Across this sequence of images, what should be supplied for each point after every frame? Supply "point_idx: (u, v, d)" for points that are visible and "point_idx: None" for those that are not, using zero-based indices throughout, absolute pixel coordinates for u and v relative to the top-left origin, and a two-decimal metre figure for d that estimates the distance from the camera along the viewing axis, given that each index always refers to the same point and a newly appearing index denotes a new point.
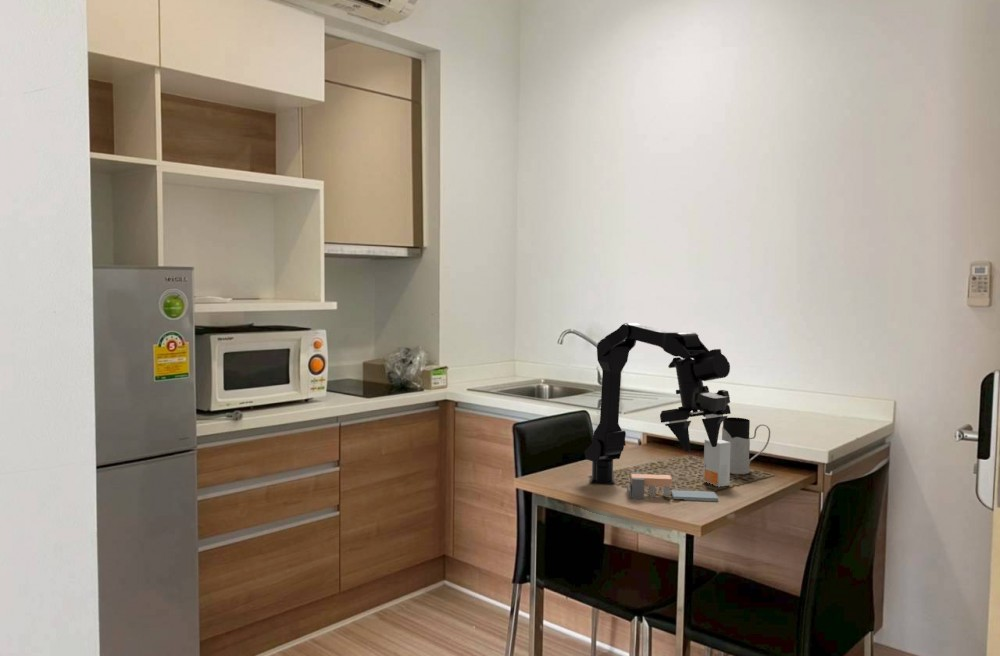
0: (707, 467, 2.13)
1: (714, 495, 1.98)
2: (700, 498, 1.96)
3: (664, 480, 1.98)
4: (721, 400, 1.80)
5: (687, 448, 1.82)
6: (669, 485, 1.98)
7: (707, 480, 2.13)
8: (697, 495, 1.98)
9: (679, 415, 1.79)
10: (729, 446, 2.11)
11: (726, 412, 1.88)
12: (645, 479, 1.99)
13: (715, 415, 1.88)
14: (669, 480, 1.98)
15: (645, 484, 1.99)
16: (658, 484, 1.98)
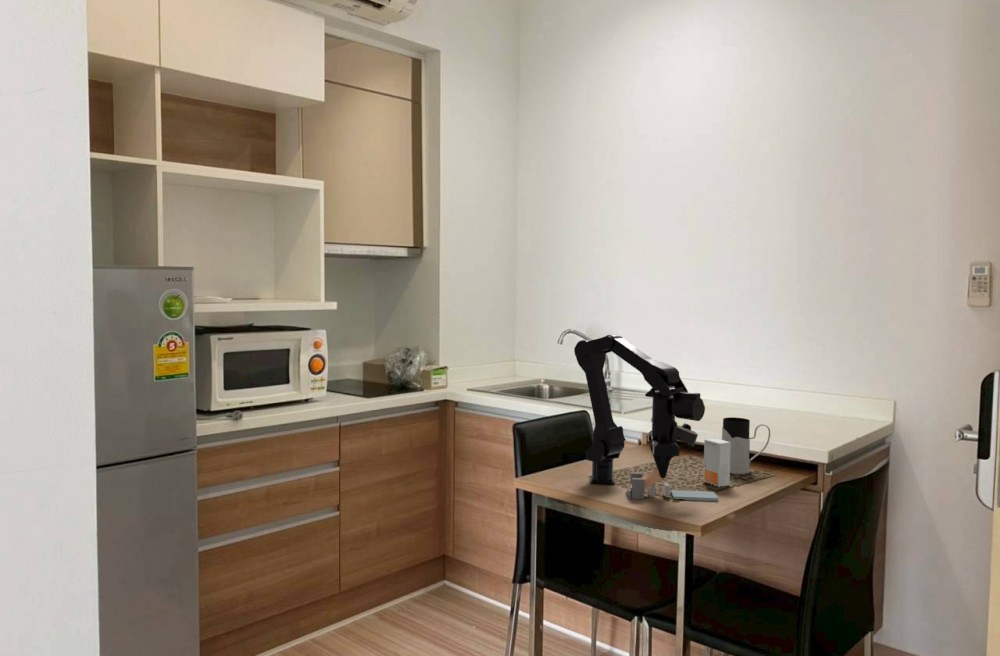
0: (707, 468, 2.13)
1: (714, 495, 1.98)
2: (700, 498, 1.96)
3: (659, 474, 1.98)
4: None
5: (663, 475, 1.98)
6: (666, 475, 1.98)
7: (707, 480, 2.13)
8: (697, 495, 1.98)
9: (679, 451, 1.91)
10: (729, 446, 2.11)
11: None
12: None
13: None
14: None
15: (645, 487, 1.99)
16: (656, 480, 1.98)
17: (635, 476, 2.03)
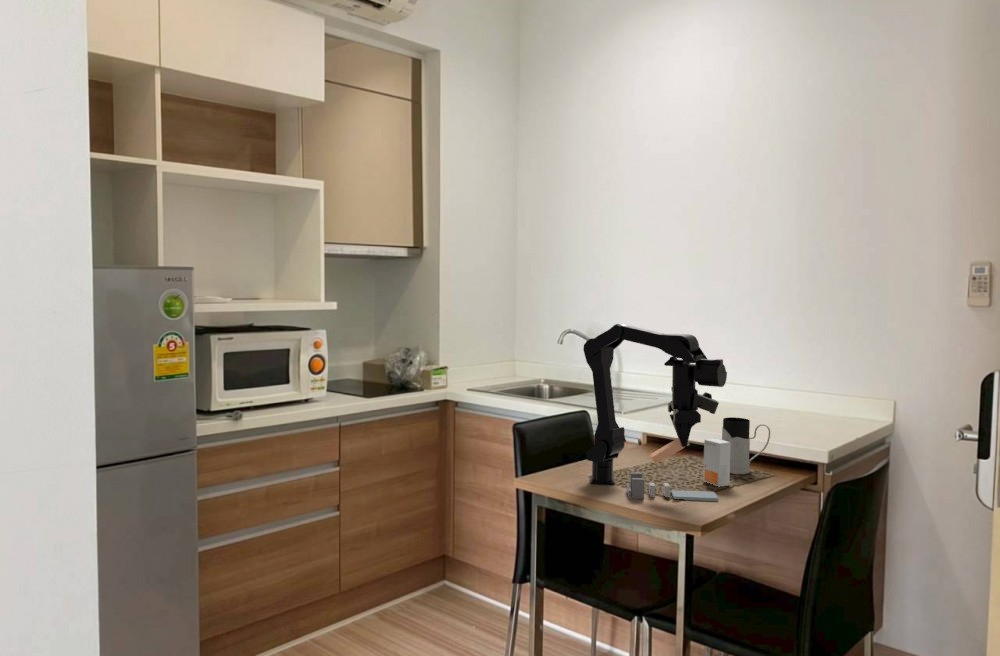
0: (707, 467, 2.13)
1: (714, 495, 1.98)
2: (700, 498, 1.96)
3: (680, 442, 1.97)
4: None
5: (684, 443, 1.96)
6: (687, 444, 1.97)
7: (707, 480, 2.13)
8: (697, 495, 1.98)
9: (700, 417, 1.89)
10: (729, 446, 2.11)
11: None
12: (663, 452, 1.97)
13: None
14: None
15: (666, 456, 1.97)
16: (677, 449, 1.97)
17: (635, 476, 2.03)
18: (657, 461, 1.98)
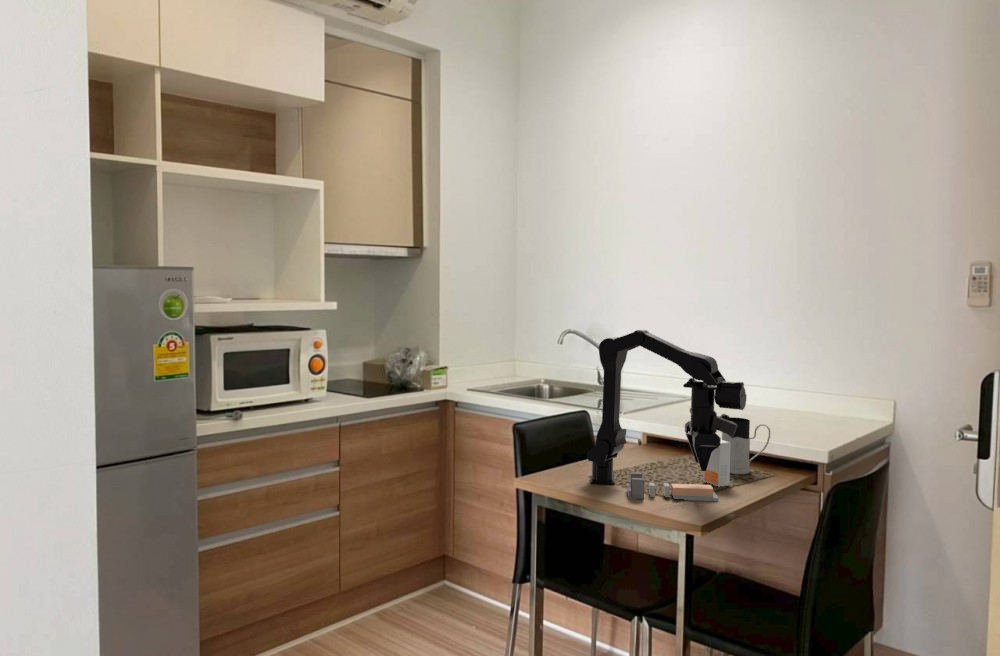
0: (707, 467, 2.13)
1: (714, 495, 1.98)
2: (700, 498, 1.96)
3: (706, 490, 1.97)
4: None
5: (704, 468, 1.94)
6: (711, 495, 1.97)
7: (707, 480, 2.13)
8: None
9: None
10: (729, 446, 2.11)
11: None
12: (686, 489, 1.98)
13: None
14: (711, 490, 1.97)
15: (686, 494, 1.98)
16: (699, 494, 1.97)
17: (635, 476, 2.03)
18: (676, 494, 1.98)
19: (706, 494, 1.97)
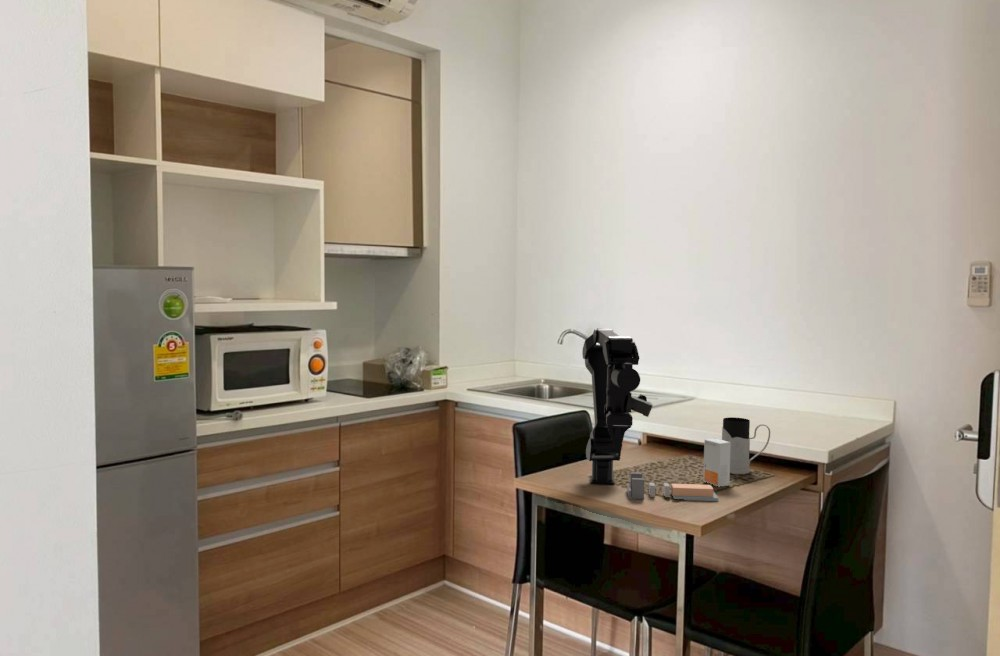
0: (707, 467, 2.13)
1: (714, 495, 1.98)
2: (700, 498, 1.96)
3: (706, 490, 1.97)
4: None
5: (618, 448, 1.92)
6: (711, 495, 1.97)
7: (707, 480, 2.13)
8: None
9: None
10: (729, 446, 2.11)
11: None
12: (686, 489, 1.98)
13: None
14: (711, 490, 1.97)
15: (686, 494, 1.98)
16: (699, 494, 1.97)
17: (635, 476, 2.03)
18: (676, 494, 1.98)
19: (706, 494, 1.97)
